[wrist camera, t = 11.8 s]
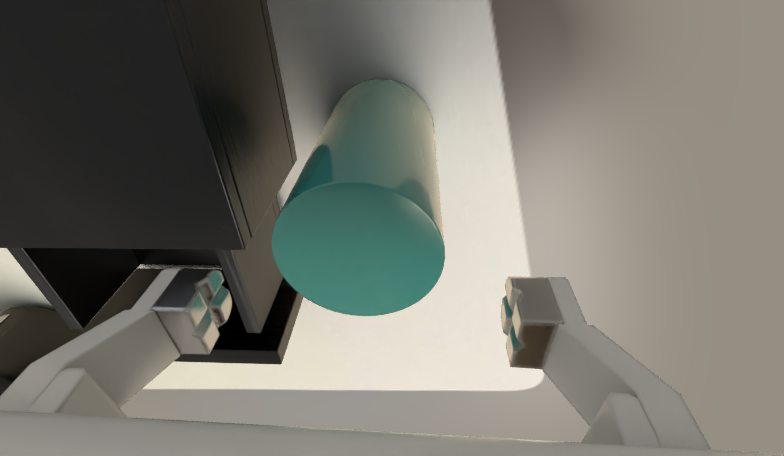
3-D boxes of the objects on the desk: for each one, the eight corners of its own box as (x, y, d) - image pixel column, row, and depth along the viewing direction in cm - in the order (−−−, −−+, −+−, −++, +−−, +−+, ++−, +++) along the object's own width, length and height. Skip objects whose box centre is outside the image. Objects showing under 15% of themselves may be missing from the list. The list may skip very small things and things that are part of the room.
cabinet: (297, 160, 23) (245, 250, 16) (81, 161, 24) (-55, 248, 17) (222, -232, 14) (30, -410, 7) (-121, -208, 15) (-589, -344, 8)
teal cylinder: (435, 77, 20) (449, 180, 11) (432, 177, 23) (441, 317, 14) (324, 79, 20) (252, 181, 11) (337, 177, 24) (289, 315, 15)
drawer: (316, 321, 30) (294, 404, 25) (164, 318, 31) (110, 398, 26) (262, 71, 19) (201, 119, 14) (30, 76, 20) (-116, 124, 15)
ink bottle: (-16, 290, 32) (-208, 442, 22) (96, 309, 32) (-43, 465, 23) (27, 360, 37) (-111, 506, 28) (121, 375, 38) (19, 523, 28)
